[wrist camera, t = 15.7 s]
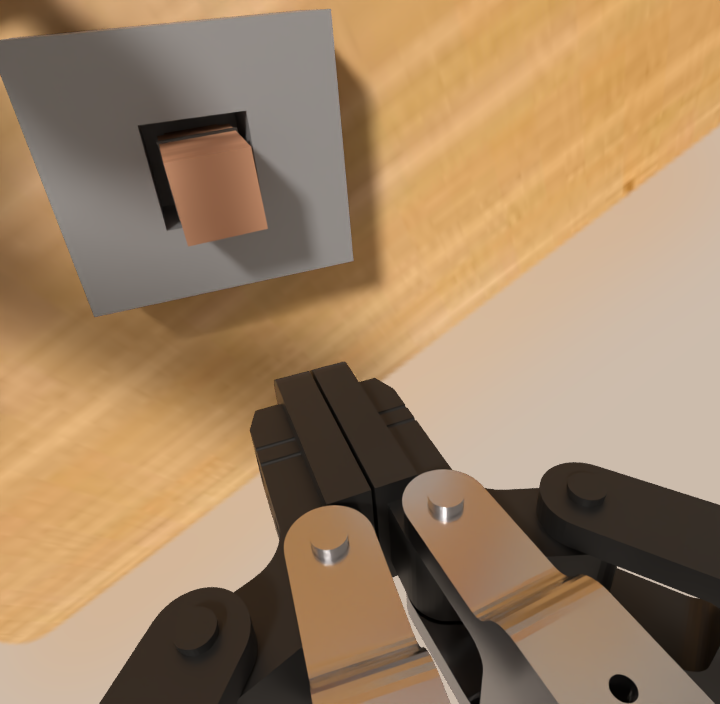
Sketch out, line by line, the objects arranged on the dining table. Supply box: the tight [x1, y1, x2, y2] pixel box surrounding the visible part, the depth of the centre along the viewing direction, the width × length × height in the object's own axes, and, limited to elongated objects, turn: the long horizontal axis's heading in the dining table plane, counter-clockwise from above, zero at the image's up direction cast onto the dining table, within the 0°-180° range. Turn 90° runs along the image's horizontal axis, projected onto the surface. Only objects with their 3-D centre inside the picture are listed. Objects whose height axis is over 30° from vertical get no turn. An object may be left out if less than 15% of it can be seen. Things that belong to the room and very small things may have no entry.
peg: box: [156, 124, 268, 247], centre depth 30 cm, size 4×4×10 cm
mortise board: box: [0, 9, 353, 317], centre depth 33 cm, size 16×14×6 cm
